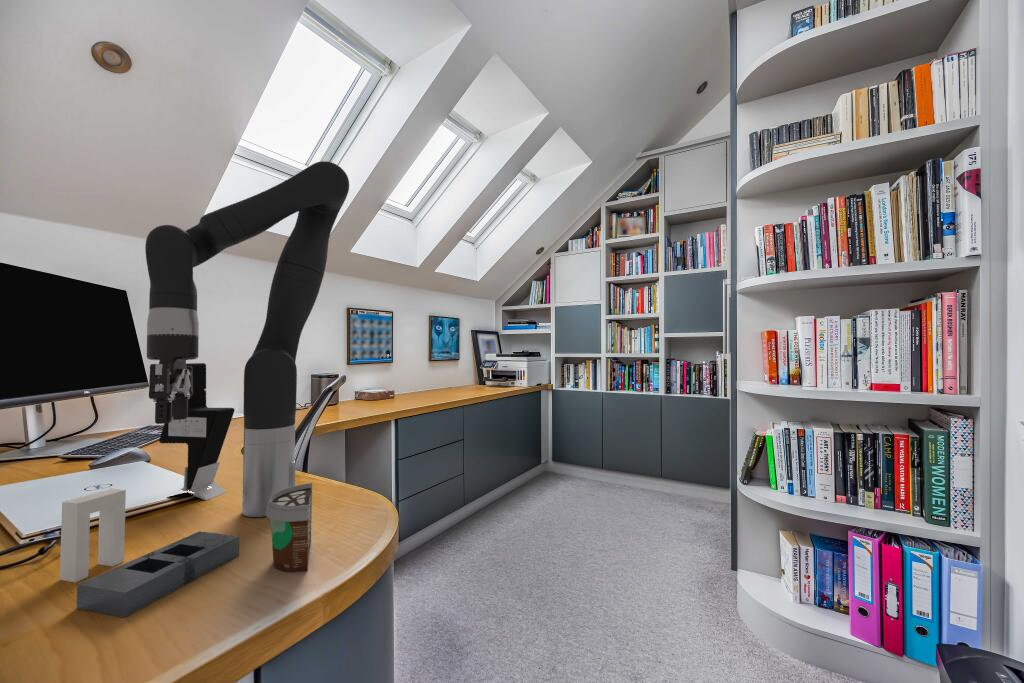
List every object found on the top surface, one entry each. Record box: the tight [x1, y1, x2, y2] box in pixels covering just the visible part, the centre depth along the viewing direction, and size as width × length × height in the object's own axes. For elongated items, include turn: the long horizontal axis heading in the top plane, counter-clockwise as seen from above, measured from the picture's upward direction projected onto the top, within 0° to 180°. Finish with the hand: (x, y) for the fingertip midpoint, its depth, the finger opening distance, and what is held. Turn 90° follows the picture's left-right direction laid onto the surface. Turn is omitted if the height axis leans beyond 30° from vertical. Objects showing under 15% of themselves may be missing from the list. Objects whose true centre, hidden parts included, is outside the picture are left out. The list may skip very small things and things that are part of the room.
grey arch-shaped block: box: [59, 488, 127, 583], centre depth 61 cm, size 6×3×11 cm, turn 167°
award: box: [158, 362, 235, 501], centre depth 95 cm, size 15×5×30 cm, turn 81°
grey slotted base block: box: [76, 531, 240, 618], centre depth 59 cm, size 16×8×3 cm, turn 167°
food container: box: [265, 482, 313, 573], centre depth 64 cm, size 12×6×10 cm, turn 23°
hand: (172, 421), depth 76 cm, fingers open, 8 cm apart
